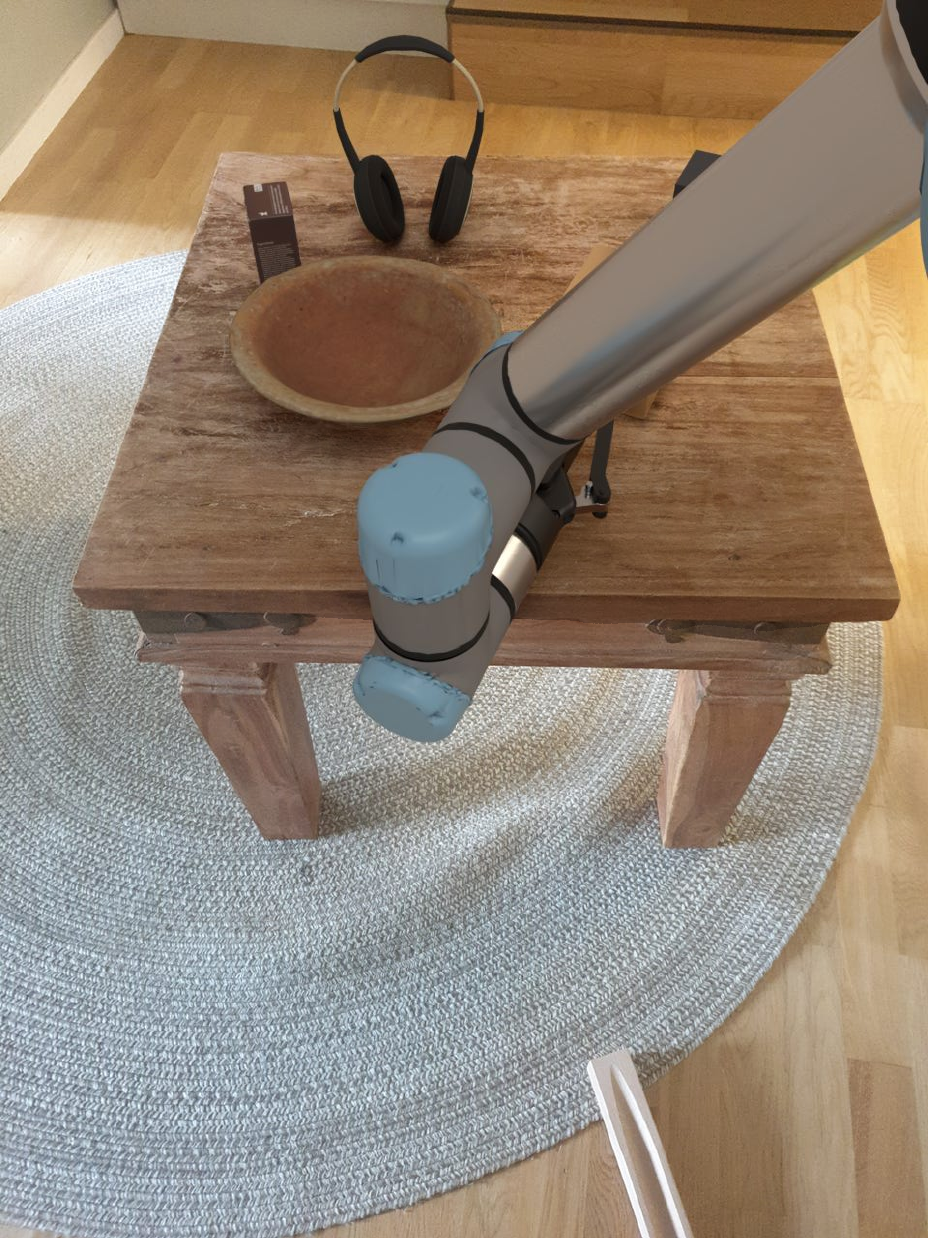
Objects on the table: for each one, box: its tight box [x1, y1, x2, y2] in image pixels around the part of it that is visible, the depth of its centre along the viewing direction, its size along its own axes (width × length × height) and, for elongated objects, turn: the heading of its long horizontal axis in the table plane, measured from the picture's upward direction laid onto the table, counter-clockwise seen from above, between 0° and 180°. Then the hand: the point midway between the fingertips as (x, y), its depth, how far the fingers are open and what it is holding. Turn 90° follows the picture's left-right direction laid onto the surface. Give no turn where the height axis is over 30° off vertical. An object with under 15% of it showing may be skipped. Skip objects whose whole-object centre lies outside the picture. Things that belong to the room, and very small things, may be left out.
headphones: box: [332, 34, 485, 245], centre depth 92 cm, size 9×15×20 cm, turn 87°
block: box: [672, 149, 723, 199], centre depth 97 cm, size 7×7×7 cm
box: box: [242, 180, 302, 286], centre depth 89 cm, size 6×4×12 cm
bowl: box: [228, 255, 504, 429], centre depth 83 cm, size 24×24×8 cm
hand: (603, 354), depth 80 cm, fingers closed
